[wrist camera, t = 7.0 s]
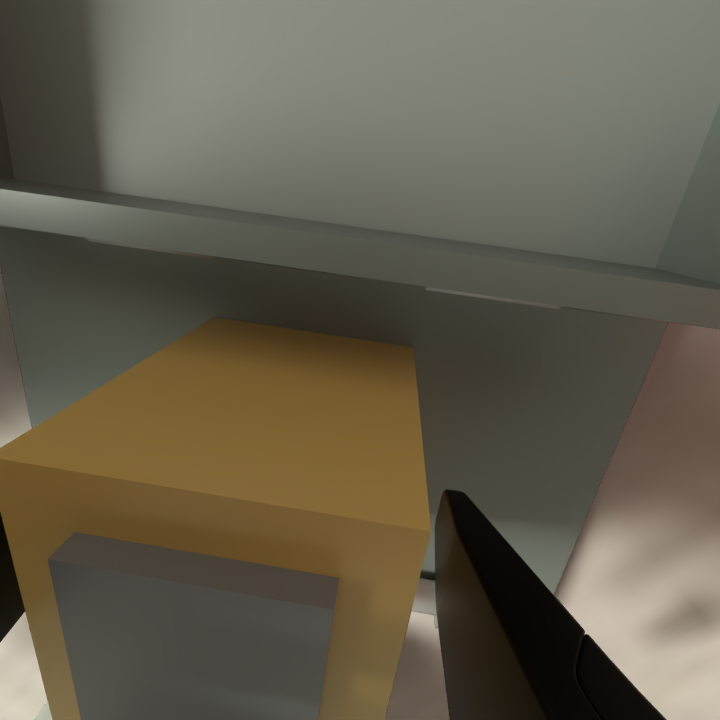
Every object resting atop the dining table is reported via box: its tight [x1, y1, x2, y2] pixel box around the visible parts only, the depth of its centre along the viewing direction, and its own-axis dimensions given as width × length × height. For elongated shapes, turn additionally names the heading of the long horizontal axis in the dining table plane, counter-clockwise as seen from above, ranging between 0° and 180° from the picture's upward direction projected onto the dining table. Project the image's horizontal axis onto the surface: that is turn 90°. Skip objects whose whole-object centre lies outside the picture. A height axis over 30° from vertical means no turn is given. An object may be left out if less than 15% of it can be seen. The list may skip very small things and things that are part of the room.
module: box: [0, 317, 431, 720], centre depth 8 cm, size 5×5×6 cm
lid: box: [0, 226, 668, 628], centre depth 11 cm, size 16×10×2 cm, turn 83°
